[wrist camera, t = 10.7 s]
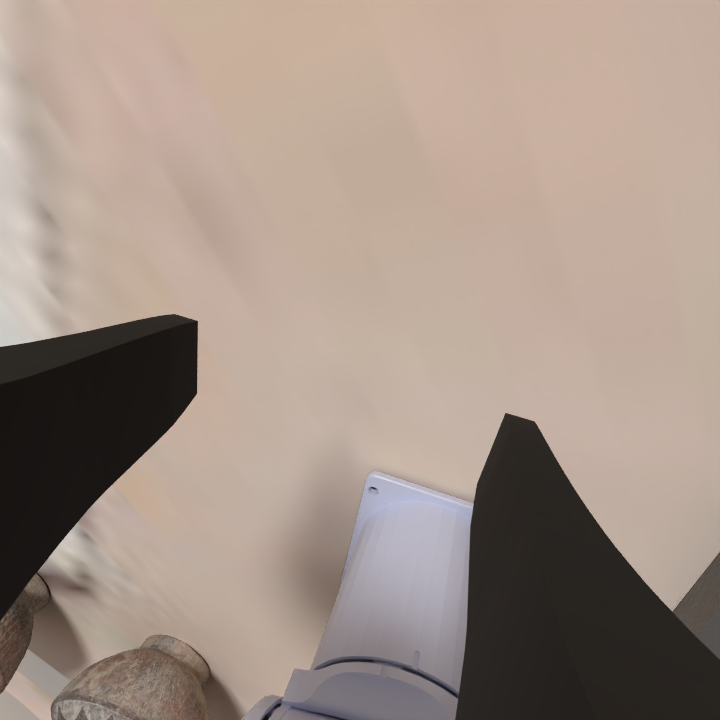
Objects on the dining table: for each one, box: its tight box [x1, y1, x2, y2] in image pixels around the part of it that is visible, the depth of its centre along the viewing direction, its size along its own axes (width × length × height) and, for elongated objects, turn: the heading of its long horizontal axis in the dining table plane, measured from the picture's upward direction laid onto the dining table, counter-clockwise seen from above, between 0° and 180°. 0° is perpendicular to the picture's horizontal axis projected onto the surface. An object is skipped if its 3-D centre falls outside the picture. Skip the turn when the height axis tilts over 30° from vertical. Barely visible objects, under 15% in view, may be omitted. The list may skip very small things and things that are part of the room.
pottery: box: [0, 574, 209, 720], centre depth 34 cm, size 11×25×12 cm, turn 72°
